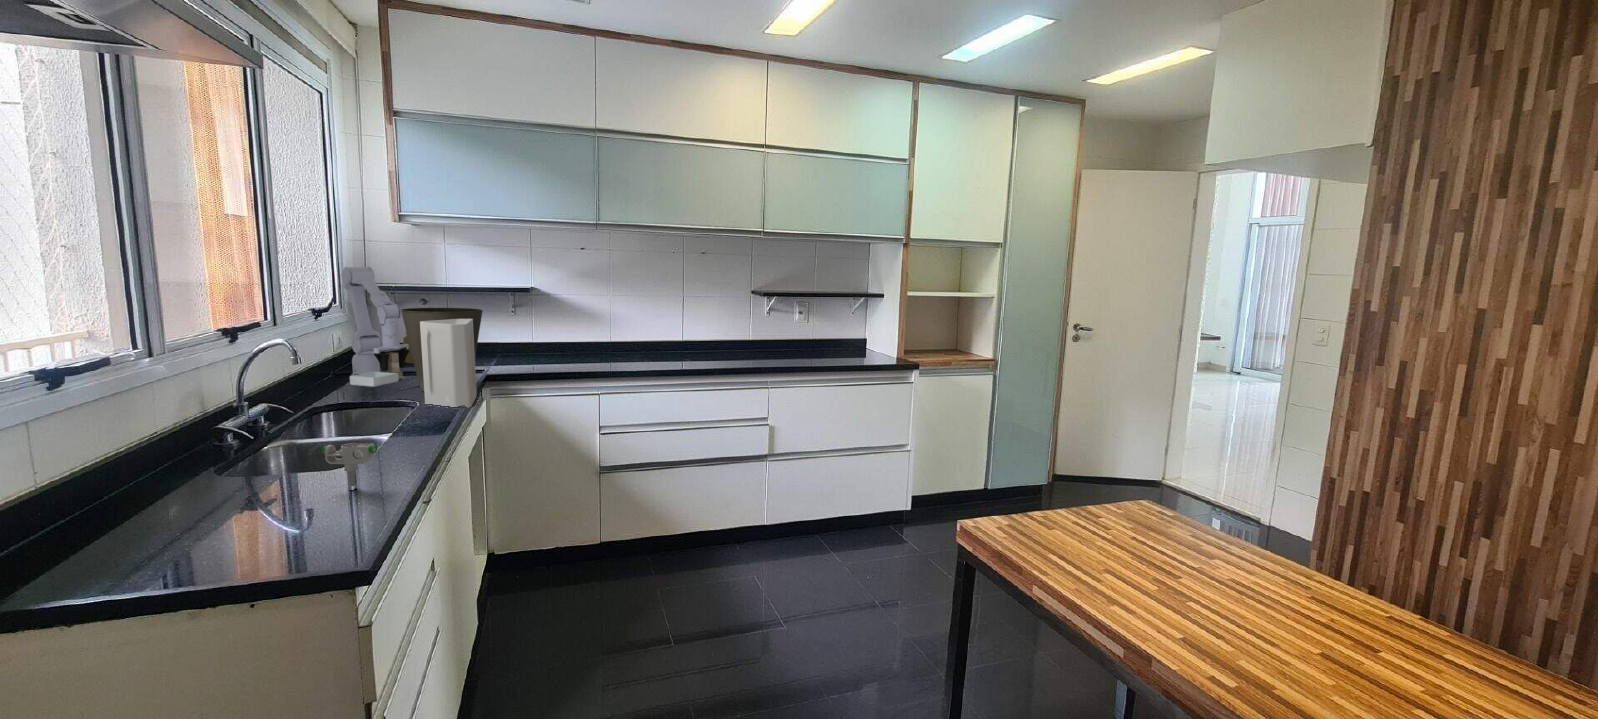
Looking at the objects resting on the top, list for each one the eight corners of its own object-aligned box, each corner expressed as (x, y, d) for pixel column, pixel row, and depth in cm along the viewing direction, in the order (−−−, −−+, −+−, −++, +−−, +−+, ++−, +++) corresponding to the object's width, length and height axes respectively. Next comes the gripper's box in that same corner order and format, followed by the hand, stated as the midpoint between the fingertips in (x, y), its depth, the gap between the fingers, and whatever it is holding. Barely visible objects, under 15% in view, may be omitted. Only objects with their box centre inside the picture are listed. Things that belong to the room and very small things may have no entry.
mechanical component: (332, 487, 142) (328, 443, 141) (381, 487, 143) (378, 443, 142) (323, 492, 139) (319, 447, 138) (374, 491, 140) (370, 447, 139)
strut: (384, 378, 258) (382, 353, 256) (393, 376, 262) (392, 352, 260) (393, 379, 256) (391, 354, 255) (402, 377, 261) (401, 352, 259)
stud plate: (376, 380, 256) (376, 373, 256) (394, 377, 264) (393, 370, 264) (393, 382, 254) (393, 375, 254) (410, 378, 262) (409, 371, 262)
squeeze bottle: (427, 362, 301) (425, 323, 298) (412, 364, 294) (409, 325, 291) (414, 361, 304) (411, 322, 301) (398, 363, 296) (396, 324, 293)
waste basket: (488, 382, 260) (485, 307, 255) (484, 392, 241) (480, 311, 237) (411, 385, 250) (406, 307, 246) (400, 396, 232) (394, 311, 227)
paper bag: (430, 397, 230) (425, 319, 226) (477, 395, 235) (473, 318, 231) (420, 410, 212) (414, 324, 208) (470, 407, 217) (466, 324, 213)
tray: (350, 386, 245) (349, 376, 244) (375, 381, 255) (375, 371, 255) (374, 388, 242) (373, 378, 241) (398, 383, 253) (398, 373, 252)
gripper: (383, 337, 249) (385, 372, 251) (413, 333, 262) (416, 366, 265) (368, 336, 250) (370, 371, 252) (399, 332, 264) (401, 365, 266)
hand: (393, 369), depth 259 cm, fingers open, 7 cm apart
